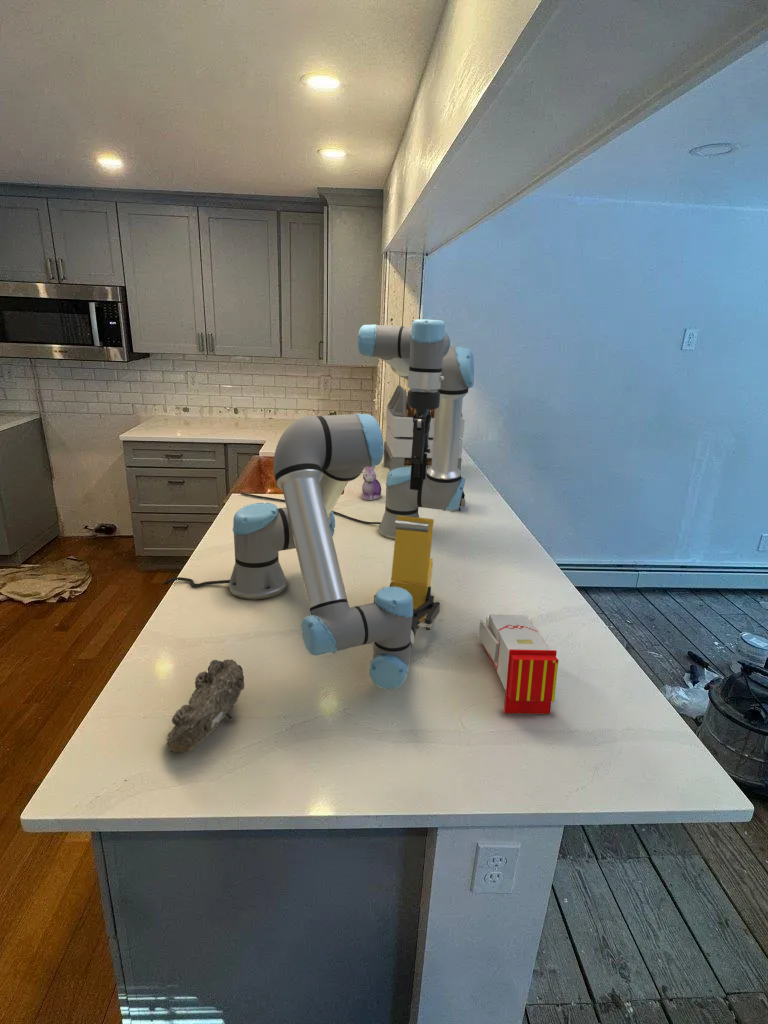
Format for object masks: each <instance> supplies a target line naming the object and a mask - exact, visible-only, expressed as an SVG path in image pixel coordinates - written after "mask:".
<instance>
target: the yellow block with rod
mask: <svg viewBox="0 0 768 1024" xmlns="http://www.w3.org/2000/svg"><path fill="white" fill-rule="evenodd" d="M434 523H435V519H434V518H427V517H419V518H417V517H407V516H397V520H396V522H395V529H396V536H395V539H394V545H393V547H394V548H393V557H392V567H391V577H390V581H392V580H394V581H402V582H411V583H419V584H427V583H428V573H429V563H430V558H431V552H432V543H433V542H432V541H433V532H434Z"/></svg>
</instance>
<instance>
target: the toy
mask: <svg viewBox="0 0 768 1024" xmlns="http://www.w3.org/2000/svg"><path fill="white" fill-rule="evenodd" d="M477 635H478V637H477V638H478V639H479V641H480V643H481V645H482V647H483V649H484V651H485V652H486V654H487V655H488V658H489V659H490V661H491V663H492V665H493V667H494V669H495V671H496V672H497V675H498V677H499V679H500V682H501V684H502V685H503V688H504V690H505V699H504V709H503V712H504V714H522V715H523V714H528V715H535V714H536V715H540V714H541V715H551V710H552V702H555V700H556V699H555V698H556V688H557V679H558V672H559V671H558V669H559V661H560V660H559V659H558V658H557V649H551V648H550V646H549V645H548V643H547V642H546V640H545V639H544V638H543V636H542V635H541V634H540V632H539V630H538V629H536V626H535V624H533V622H532V619H530V618H529V617H528V615H527V614H501V613H500V614H495V613H493V614H492V613H489V614H488V616H486V617H485V622H484V620H483V619H480V620H479V628H478V634H477Z"/></svg>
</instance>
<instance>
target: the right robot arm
mask: <svg viewBox="0 0 768 1024" xmlns="http://www.w3.org/2000/svg"><path fill="white" fill-rule="evenodd" d="M445 323H446V322H444V320H441V319H425V318H424V319H420V318H419V319H418V318H417V319H414V320H413V321H412V322H411V326H403V325H402V326H401V325H383V324H376V323H374V324H363V325H362V326H361V327H360V328H359V330H358V334H357V349H358V352H359V354H360V355H361V356H363V357H370V358H373V357H375V358H379V359H380V360H381V361H383V362H384V363H386V364H387V365H389V366H390V369H391V370H392V372H393V373H395V374H396V375H397V376H399V377H400V378H402V379H405V380H407V388H408V391H407V405H408V406H409V407H411V408H416V409H417V413H416V414H415V415H414V416H413V423H414V425H413V442H412V454H411V460H409V461H408V463H411V466H404V467H401V468H396V469H393V470H391V471H390V470H389V472H388V473H387V475H386V482H385V504H384V505H385V507H384V508H385V509H384V513H383V515H382V519H381V522H380V521H365V520H361V519H358V518H355V517H352V516H349V515H345V514H344V513H341V512H338V511H335V510H332V511H333V513H334V515H339V516H340V517H343V518H346V519H349V520H351V521H354V522H358V523H362V524H367V525H378V533H379V534H380V535H381V536H382V537H385V538H387V539H389V540H395V536H396V529H395V522H396V520H397V516H407V517H417V518H420V515H419V508H422V509H430V510H431V509H432V510H440V511H444V512H445V511H451V512H455V511H457V510H459V509H458V508H459V505H460V501H461V497H462V492H463V491H464V487H465V483H466V478H465V477H463V476H462V470H461V471H460V470H459V469H458V468H457V465H458V452H459V440H460V439H461V438H460V427H461V418H462V417H461V414H462V415H463V400H464V397H466V396H467V394H469V389H471V388H473V387H474V386H475V385H474V383H475V361H474V360H475V359H474V354H473V352H472V350H471V349H470V348H467V347H460V346H451V338H450V335H449V333H447V331H446V324H445ZM429 409H435V416H434V433H433V450H432V465H430V466H429V467H428V468H427V466H426V464H427V454H426V453H430V449H428V447H429V445H428V438H429V430H430V422H431V415H430V413H431V412H430V410H429ZM240 495H244V496H248V497H253V498H259V499H265V500H271V501H277V502H284V503H285V499H281V498H276V497H269V496H262V495H256V494H252V493H245V492H240Z"/></svg>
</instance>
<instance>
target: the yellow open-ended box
mask: <svg viewBox="0 0 768 1024" xmlns="http://www.w3.org/2000/svg"><path fill="white" fill-rule="evenodd" d="M433 562H434V559H433V558H431V557H430V563H429V573H428V583H427V584H419V583H411V582H402V581H394V580H391V582H390V583H391V587H400V588H403V589H405V590H407V591H408V592H409V593H410V594H411V596H412V599H413V609H417V608H418V607H419V606H421V605H422V604H424V603H425V601H426V595H427V590H428V587H431V588H432V575H433V564H434V563H433ZM426 615H427V614H426ZM426 615H425V616H424V617H426ZM424 617H422V618H421V619H419V620H420V621H422V620H423V619H424Z"/></svg>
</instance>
